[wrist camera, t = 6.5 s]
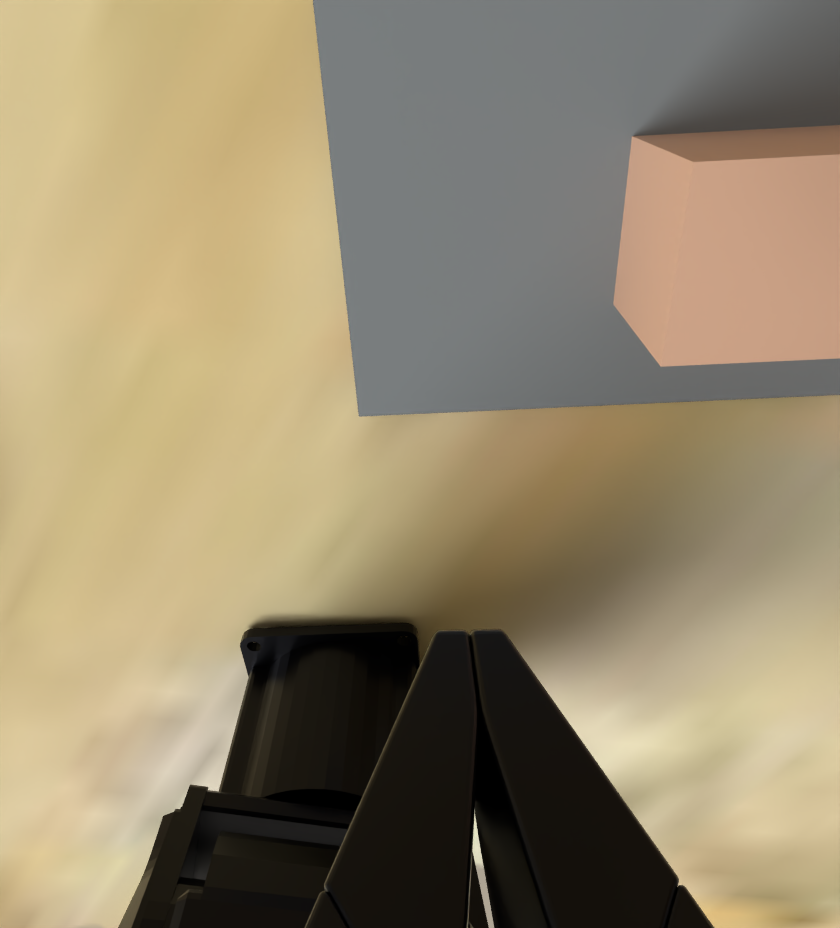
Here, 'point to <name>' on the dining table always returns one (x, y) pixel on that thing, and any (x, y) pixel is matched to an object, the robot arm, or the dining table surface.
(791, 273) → the terracotta block
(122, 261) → the dining table surface
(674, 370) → the slate mat
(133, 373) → the dining table surface
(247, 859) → the robot arm
